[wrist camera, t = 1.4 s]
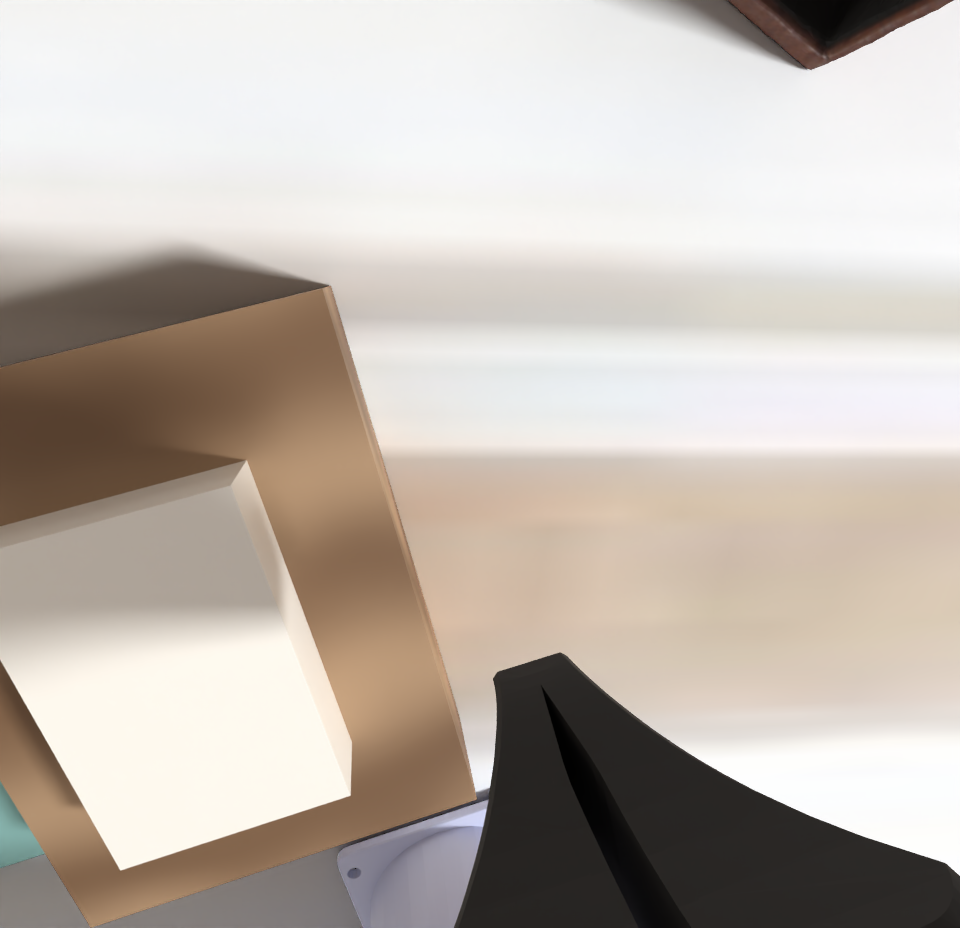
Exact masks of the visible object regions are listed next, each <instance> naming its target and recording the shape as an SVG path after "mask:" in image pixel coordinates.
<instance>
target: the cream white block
mask: <svg viewBox="0 0 960 928" xmlns="http://www.w3.org/2000/svg"><path fill="white" fill-rule="evenodd" d="M0 660H1V662H2V664H3V666H4V667H5V669H6V671H7V673H8V674H9V676H10V678H11V680H12V681H13V683H14V685H15V687H16V688H17V690H18V692H19V694H20V695H21V697H22V699H23V701H24V702H25V704H26V706H27V708H28V709H29V711H30V713H31V715H32V716H33V718H34V720H35V722H36V723H37V725H38V727H39V729H40V730H41V732H42V734H43V736H44V737H45V739H46V741H47V743H48V744H49V746H50V748H51V750H52V751H53V753H54V755H55V757H56V758H57V760H58V762H59V764H60V766H61V767H62V769H63V771H64V773H65V774H66V776H67V778H68V780H69V781H70V783H71V785H72V787H73V788H74V790H75V792H76V794H77V795H78V797H79V799H80V801H81V802H82V804H83V806H84V808H85V809H86V811H87V813H88V815H89V816H90V818H91V820H92V822H93V823H94V825H95V827H96V829H97V830H98V832H99V834H100V836H101V837H102V839H103V841H104V843H105V844H106V846H107V848H108V850H109V851H110V853H111V855H112V857H113V858H114V860H115V862H116V864H117V865H118V867H119V869H120V871H121V870H124V869H127V868H130V867H133V866H136V865H139V864H142V863H145V862H148V861H151V860H154V859H158V858H161V857H164V856H167V855H170V854H173V853H176V852H179V851H182V850H185V849H188V848H191V847H194V846H197V845H201V844H204V843H207V842H210V841H213V840H216V839H219V838H222V837H225V836H228V835H231V834H234V833H237V832H241V831H244V830H247V829H250V828H253V827H256V826H259V825H262V824H265V823H268V822H271V821H274V820H277V819H280V818H284V817H287V816H290V815H293V814H296V813H299V812H302V811H305V810H308V809H311V808H314V807H317V806H320V805H324V804H327V803H330V802H333V801H336V800H339V799H342V798H345V797H348V796H351V762H352V741H351V739H350V736H349V733H348V731H347V728H346V725H345V722H344V720H343V717H342V714H341V712H340V709H339V706H338V704H337V701H336V698H335V696H334V693H333V690H332V688H331V685H330V682H329V680H328V677H327V674H326V671H325V669H324V666H323V663H322V661H321V658H320V655H319V653H318V650H317V647H316V645H315V642H314V639H313V637H312V634H311V631H310V629H309V626H308V623H307V621H306V618H305V615H304V612H303V610H302V607H301V604H300V602H299V599H298V596H297V594H296V591H295V588H294V586H293V583H292V580H291V578H290V575H289V572H288V570H287V567H286V564H285V562H284V559H283V556H282V553H281V551H280V548H279V545H278V543H277V540H276V537H275V535H274V532H273V529H272V527H271V524H270V521H269V519H268V516H267V513H266V511H265V508H264V505H263V502H262V500H261V497H260V494H259V492H258V489H257V486H256V484H255V481H254V478H253V476H252V473H251V470H250V468H249V465H248V462H247V460H245V461H241V462H238V463H234V464H230V465H227V466H223V467H219V468H215V469H212V470H208V471H204V472H201V473H197V474H193V475H189V476H186V477H182V478H178V479H175V480H171V481H167V482H163V483H160V484H156V485H152V486H149V487H145V488H141V489H137V490H134V491H130V492H126V493H123V494H119V495H115V496H111V497H108V498H104V499H100V500H97V501H93V502H89V503H85V504H82V505H78V506H74V507H71V508H67V509H63V510H59V511H56V512H52V513H48V514H45V515H41V516H37V517H33V518H30V519H26V520H22V521H19V522H15V523H11V524H7V525H4V526H0Z"/></svg>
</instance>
